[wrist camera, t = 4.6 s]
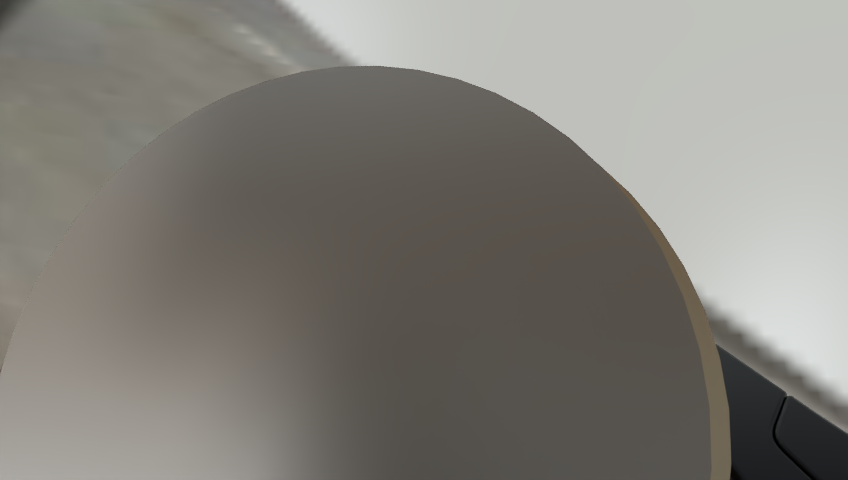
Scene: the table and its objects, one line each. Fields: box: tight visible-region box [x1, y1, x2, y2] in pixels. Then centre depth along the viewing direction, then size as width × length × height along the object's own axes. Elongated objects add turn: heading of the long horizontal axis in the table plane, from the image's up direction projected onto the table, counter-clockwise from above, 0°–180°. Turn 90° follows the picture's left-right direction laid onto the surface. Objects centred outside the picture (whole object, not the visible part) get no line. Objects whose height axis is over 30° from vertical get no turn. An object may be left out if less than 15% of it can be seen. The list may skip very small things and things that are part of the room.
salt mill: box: [0, 66, 731, 480], centre depth 9 cm, size 5×5×13 cm
